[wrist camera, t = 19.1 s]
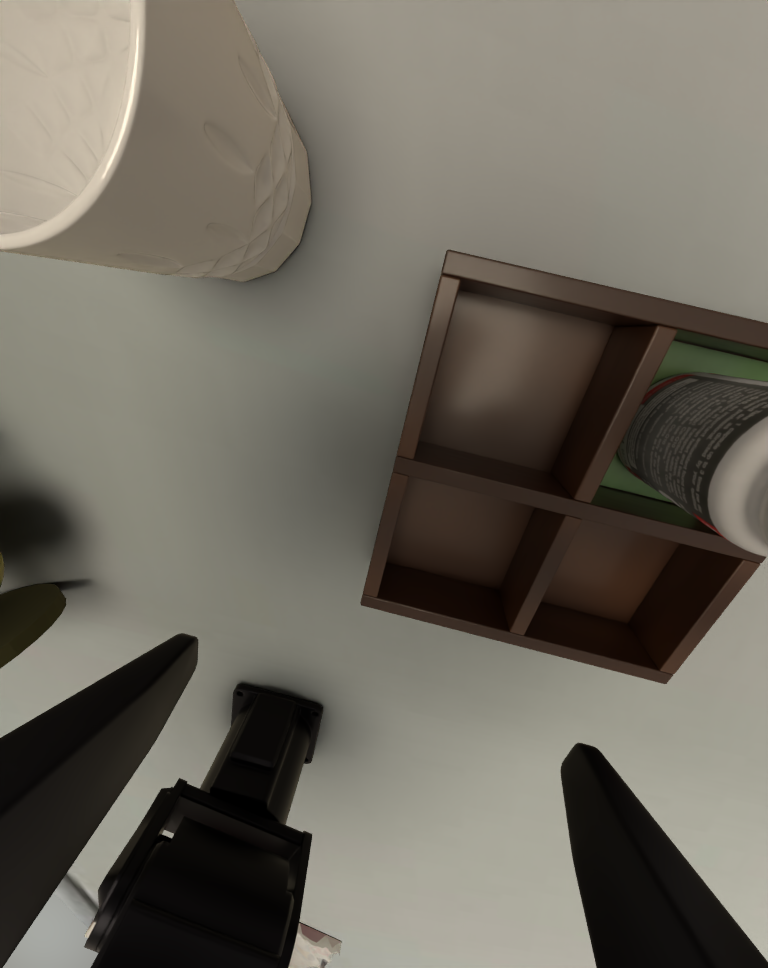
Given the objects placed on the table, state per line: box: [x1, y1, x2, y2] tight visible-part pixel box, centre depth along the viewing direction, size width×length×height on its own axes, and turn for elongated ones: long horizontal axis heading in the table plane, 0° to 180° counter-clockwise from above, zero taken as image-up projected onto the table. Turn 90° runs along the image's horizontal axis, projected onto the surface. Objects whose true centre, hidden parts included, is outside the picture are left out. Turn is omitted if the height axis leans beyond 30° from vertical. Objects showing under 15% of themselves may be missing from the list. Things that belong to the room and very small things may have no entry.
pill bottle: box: [617, 372, 768, 557], centre depth 11 cm, size 5×5×8 cm
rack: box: [361, 250, 768, 684], centre depth 16 cm, size 15×15×4 cm
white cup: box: [0, 0, 311, 282], centre depth 10 cm, size 8×8×10 cm
